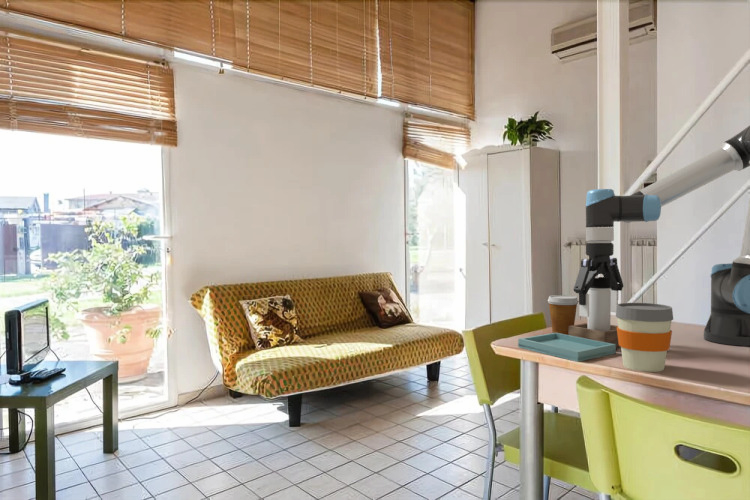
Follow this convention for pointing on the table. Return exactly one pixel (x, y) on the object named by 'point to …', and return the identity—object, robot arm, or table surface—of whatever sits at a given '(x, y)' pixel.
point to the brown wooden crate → (595, 333)
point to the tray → (567, 346)
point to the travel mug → (599, 304)
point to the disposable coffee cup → (562, 312)
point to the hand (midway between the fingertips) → (599, 314)
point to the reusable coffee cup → (644, 335)
